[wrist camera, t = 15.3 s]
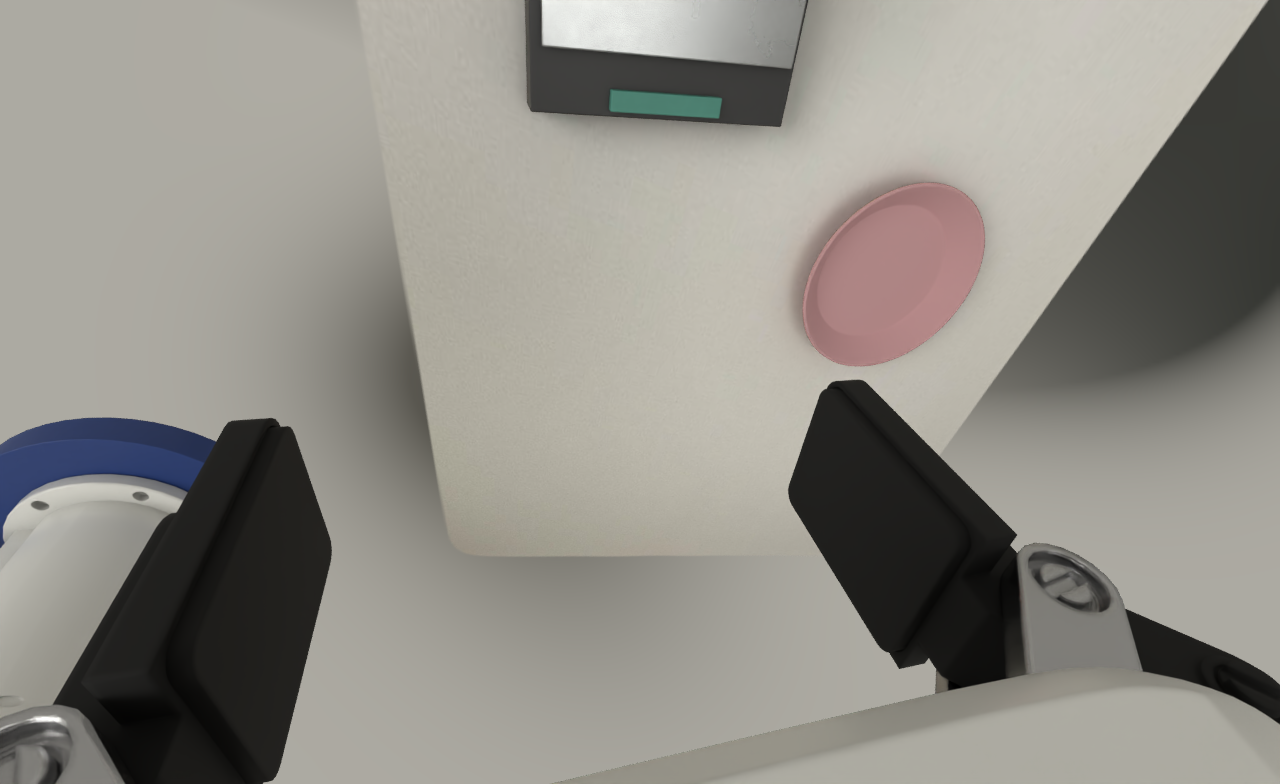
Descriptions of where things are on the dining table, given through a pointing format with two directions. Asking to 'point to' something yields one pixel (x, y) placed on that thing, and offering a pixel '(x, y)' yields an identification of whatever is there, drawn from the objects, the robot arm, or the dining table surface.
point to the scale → (663, 58)
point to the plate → (893, 274)
